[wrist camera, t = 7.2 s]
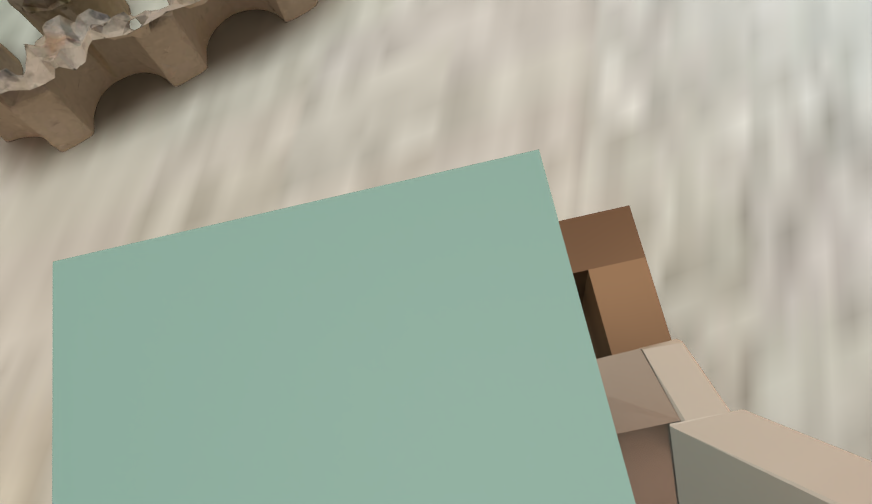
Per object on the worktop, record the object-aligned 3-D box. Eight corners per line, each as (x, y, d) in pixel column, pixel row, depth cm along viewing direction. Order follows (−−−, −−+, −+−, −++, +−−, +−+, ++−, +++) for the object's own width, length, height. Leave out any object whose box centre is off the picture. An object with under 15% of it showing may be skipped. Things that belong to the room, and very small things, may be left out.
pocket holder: (738, 702, 14) (801, 754, 10) (286, 787, 14) (209, 862, 11) (612, 270, 17) (628, 205, 13) (244, 351, 17) (174, 307, 14)
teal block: (596, 606, 14) (698, 737, 5) (368, 651, 14) (52, 859, 5) (540, 377, 16) (538, 149, 6) (336, 421, 16) (53, 262, 7)
